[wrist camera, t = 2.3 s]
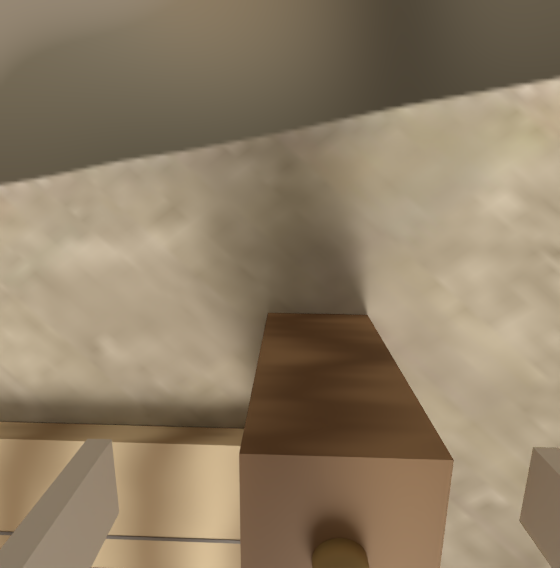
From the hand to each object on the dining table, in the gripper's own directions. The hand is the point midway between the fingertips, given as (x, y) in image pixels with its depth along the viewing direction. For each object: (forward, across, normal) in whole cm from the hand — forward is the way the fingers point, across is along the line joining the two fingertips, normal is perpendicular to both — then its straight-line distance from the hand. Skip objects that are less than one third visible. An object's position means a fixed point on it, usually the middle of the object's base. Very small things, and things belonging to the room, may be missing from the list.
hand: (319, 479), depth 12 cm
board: (+8, +8, +8) cm, 14 cm away
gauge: (+8, 0, +4) cm, 9 cm away
